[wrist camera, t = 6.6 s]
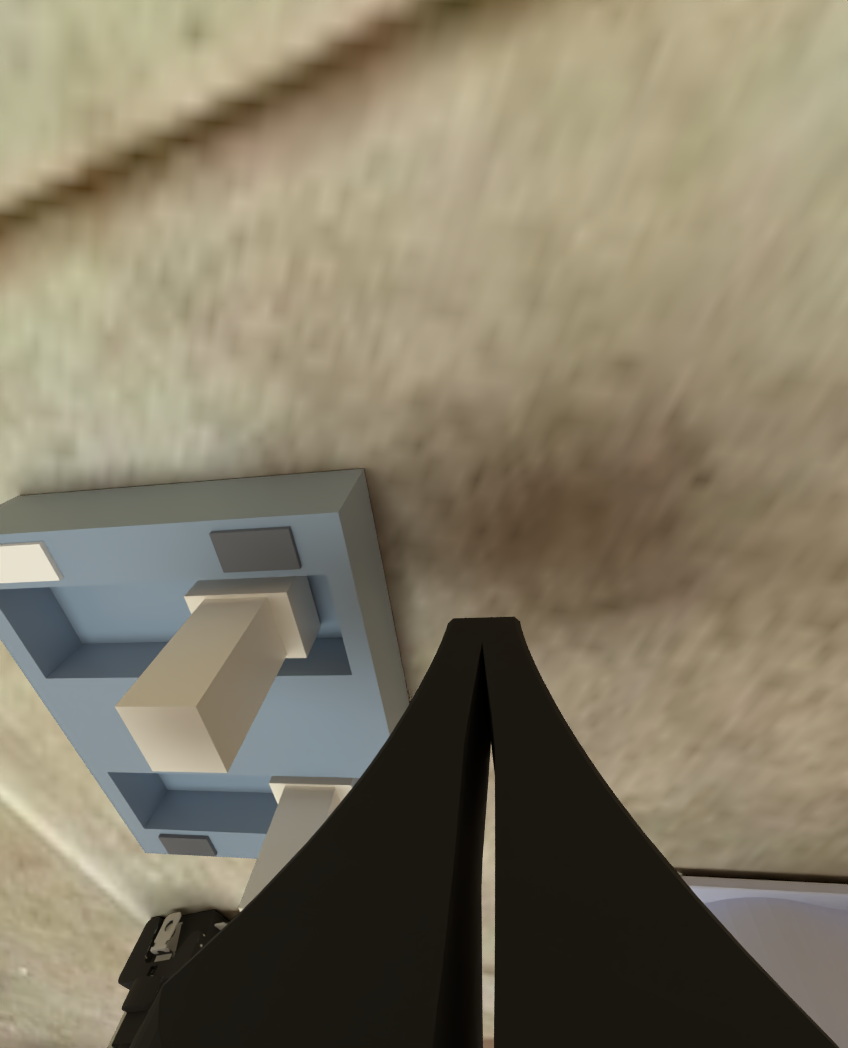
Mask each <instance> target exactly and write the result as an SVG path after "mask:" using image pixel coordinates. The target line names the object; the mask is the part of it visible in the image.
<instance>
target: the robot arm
mask: <svg viewBox="0 0 848 1048" xmlns="http://www.w3.org/2000/svg"><path fill="white" fill-rule="evenodd" d="M491 745H492V754H493V763H494V771H495V1001H494V1048H848V884H834V883H814V882H794V881H775V880H755V879H735V878H715V877H695V876H680V875H679V874H678V873H677V871H676V870H675V869H674V868H673V867H672V865H671V864H670V863H669V862H668V861H667V859H666V858H665V857H664V856H663V855H662V853H661V852H660V851H659V850H658V849H657V847H656V846H655V845H654V844H653V843H652V841H651V840H650V839H649V838H648V837H647V836H646V834H645V833H644V832H643V831H642V829H641V828H640V827H639V826H638V824H637V823H636V822H635V820H634V819H633V818H632V816H631V815H630V814H629V812H628V811H627V810H626V809H625V807H624V806H623V805H622V803H621V802H620V801H619V799H618V798H617V797H616V795H615V794H614V793H613V791H612V790H611V788H610V787H609V786H608V784H607V783H606V781H605V780H604V779H603V777H602V776H601V774H600V773H599V772H598V770H597V769H596V767H595V766H594V764H593V763H592V761H591V760H590V758H589V757H588V756H587V754H586V752H585V751H584V749H583V748H582V746H581V745H580V743H579V742H578V740H577V738H576V737H575V735H574V734H573V732H572V730H571V729H570V727H569V726H568V724H567V722H566V721H565V719H564V717H563V716H562V714H561V712H560V710H559V709H558V707H557V705H556V703H555V702H554V700H553V698H552V696H551V694H550V692H549V690H548V689H547V687H546V685H545V683H544V681H543V679H542V677H541V675H540V673H539V671H538V669H537V667H536V665H535V663H534V660H533V658H532V656H531V654H530V651H529V649H528V646H527V644H526V641H525V638H524V635H523V632H522V629H521V624H520V621H519V620H518V619H516V618H515V617H490V618H454V619H452V620H451V621H450V622H449V623H448V626H447V629H446V632H445V634H444V637H443V639H442V642H441V644H440V646H439V648H438V651H437V653H436V655H435V657H434V659H433V661H432V663H431V665H430V667H429V669H428V671H427V673H426V675H425V677H424V679H423V680H422V682H421V684H420V686H419V688H418V690H417V692H416V693H415V695H414V697H413V699H412V701H411V702H410V704H409V706H408V707H407V709H406V710H405V712H404V714H403V715H402V717H401V718H400V720H399V722H398V723H397V725H396V726H395V728H394V730H393V731H392V733H391V734H390V736H389V738H388V739H387V741H386V742H385V744H384V745H383V746H382V748H381V749H380V751H379V752H378V754H377V755H376V757H375V758H374V759H373V761H372V762H371V764H370V765H369V766H368V768H367V769H366V770H365V772H364V773H363V774H362V776H361V777H360V778H359V780H358V781H357V782H356V784H355V785H354V786H353V788H352V789H351V790H350V791H349V793H348V794H347V795H346V796H345V797H344V799H343V800H342V801H341V802H340V804H339V805H338V806H337V807H336V809H335V810H334V811H333V812H332V813H331V815H330V816H329V817H328V818H327V820H326V821H325V822H324V823H323V824H322V825H321V827H320V828H319V829H318V830H317V831H316V832H315V834H314V835H313V836H312V837H311V838H310V839H309V840H308V842H307V843H306V844H305V845H304V846H303V847H302V848H301V849H300V850H299V851H298V852H297V853H296V854H295V855H294V857H293V858H292V859H291V860H290V861H289V862H288V863H287V864H286V865H285V866H284V867H283V868H282V869H281V870H280V871H279V872H278V874H277V875H276V876H275V877H274V878H273V879H272V880H271V881H270V882H269V883H268V884H267V885H266V886H265V887H264V888H263V889H262V891H261V892H260V893H259V894H258V895H257V896H256V897H255V898H254V899H253V900H252V901H251V902H250V903H249V904H248V905H247V906H246V907H245V908H244V909H243V910H242V911H241V912H240V913H239V914H237V915H236V916H235V917H234V918H233V919H232V920H231V921H230V922H229V923H228V924H227V925H226V926H225V927H224V928H223V929H222V930H220V931H219V932H218V933H217V934H216V935H215V936H214V937H213V938H212V939H211V940H210V941H209V942H208V943H207V944H206V945H205V946H203V947H202V948H201V949H200V950H199V951H198V952H197V953H196V954H195V955H194V956H193V957H192V958H191V959H190V960H189V961H188V962H186V963H185V964H184V965H183V966H182V967H181V968H180V969H179V970H178V971H177V972H176V973H175V974H174V975H172V976H171V977H170V978H169V979H168V980H167V981H166V982H165V983H164V984H163V985H162V987H161V989H160V991H159V993H158V995H157V997H156V999H155V1001H154V1003H153V1004H152V1006H151V1008H150V1010H149V1012H148V1014H147V1016H146V1017H145V1019H144V1021H143V1023H142V1024H141V1026H140V1028H139V1029H138V1031H137V1033H136V1035H135V1037H134V1039H133V1041H132V1043H131V1045H130V1047H129V1048H483V1024H482V907H481V884H482V858H483V844H484V830H485V817H486V803H487V790H488V776H489V762H490V748H491Z"/></svg>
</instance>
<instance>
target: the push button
mask: <svg viewBox="0 0 848 1048" xmlns="http://www.w3.org/2000/svg"><path fill="white" fill-rule="evenodd" d="M228 923H229V921H228V920H227V919H225V918H224V917H223V916H221V915H220V914H219V913H217V912H216V911H215V910H210V911H205V912H200V913H195V914H190V915H185V916H181V912H177V913H172V914H169V915H168V916H167V917H166V918H165V920H163V919H162V918H160V917H154V918H152V919H150V920H149V921H148V922H147V924H146V926H145V928H144V930H143V931H142V933H141V935H140V937H139V939H138V941H137V943H136V945H135V947H134V949H133V951H132V953H131V955H130V957H129V959H128V961H127V963H126V965H125V967H124V969H123V971H122V973H121V975H120V977H119V980H118V982H119V984H121V985H122V986H124V987H126V988H127V989H129V990H130V991H129V993H128V995H127V997H126V999H125V1001H124V1003H123V1006H122V1010H123V1012H124V1014H123V1016H122V1018H121V1020H120V1023H119V1025H118V1027H117V1029H116V1031H115V1033H114V1035H113V1037H112V1039H111V1041H110V1043H109V1045H108V1048H129V1047H130V1045H131V1043H132V1041H133V1039H134V1037H135V1035H136V1033H137V1031H138V1029H139V1028H140V1026H141V1024H142V1023H143V1021H144V1019H145V1017H146V1016H147V1014H148V1012H149V1010H150V1008H151V1006H152V1004H153V1003H154V1001H155V999H156V997H157V995H158V993H159V991H160V989H161V987H162V985H163V984H164V983H165V982H166V981H167V980H168V979H169V978H170V977H171V976H172V975H174V974H175V973H176V972H177V971H178V970H179V969H180V968H181V967H182V966H183V965H184V964H185V963H186V962H188V961H189V960H190V959H191V958H192V957H193V956H194V955H195V954H196V953H197V952H198V951H199V950H200V949H201V948H202V947H203V946H205V945H206V944H207V943H208V942H209V941H210V940H211V939H212V938H213V937H214V936H215V935H216V934H217V933H218V932H219V931H220V930H222V929H223V928H224V927H225V926H226V925H227V924H228Z"/></svg>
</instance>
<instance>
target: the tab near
mask: <svg viewBox="0 0 848 1048" xmlns="http://www.w3.org/2000/svg"><path fill="white" fill-rule="evenodd" d="M184 598H185V601H186V603H187V605H188V608H189V610H190V612H191V616H190V617H189V618H188V619H187V620H186V622H185V623H184V624H183V625H182V626H181V628H180V629H179V630H178V631H177V632H176V634H175V635H174V636H173V637H172V638H171V640H170V641H169V642H168V643H167V644H166V646H165V647H164V648H163V649H162V650H161V652H160V653H159V654H158V655H157V657H156V658H155V659H154V660H153V661H152V663H151V664H150V665H149V666H148V667H147V669H146V670H145V671H144V672H143V673H142V675H141V676H140V677H139V678H138V679H137V681H136V682H135V683H134V684H133V685H132V687H131V688H130V689H129V690H128V691H127V693H126V694H125V695H124V696H123V697H122V699H121V700H120V701H119V702H118V703H117V705H116V706H115V708H116V710H117V711H118V713H119V715H120V717H121V718H122V720H123V722H124V723H125V725H126V727H127V728H128V730H129V732H130V734H131V735H132V737H133V739H134V740H135V742H136V744H137V745H138V747H139V749H140V751H141V752H142V754H143V756H144V757H145V759H146V761H147V762H148V764H149V766H150V768H151V769H152V771H162V772H207V773H228V771H229V769H230V767H231V765H232V763H233V761H234V759H235V757H236V755H237V753H238V751H239V749H240V747H241V745H242V743H243V741H244V739H245V737H246V735H247V733H248V731H249V729H250V727H251V725H252V723H253V721H254V719H255V718H256V716H257V714H258V712H259V710H260V708H261V706H262V704H263V702H264V700H265V698H266V696H267V694H268V692H269V690H270V688H271V686H272V684H273V682H274V680H275V678H276V676H277V674H278V672H279V670H280V668H281V666H282V664H283V662H284V660H285V658H307V656H308V654H309V652H310V650H311V648H312V645H313V643H314V641H315V639H316V636H317V634H318V632H319V630H320V628H321V624H320V621H319V617H318V614H317V610H316V607H315V603H314V600H313V596H312V593H311V589H310V585H309V582H308V578H307V576H286V577H264V578H242V579H219V580H198V581H197V582H196V583H195V584H194V586H193V587H192V588H191V589H190V590H189V591H188V592H187V593H186V594H185V596H184Z"/></svg>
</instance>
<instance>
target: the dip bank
mask: <svg viewBox="0 0 848 1048" xmlns="http://www.w3.org/2000/svg"><path fill="white" fill-rule="evenodd" d="M286 576H307V578H308V582H309V585H310V589H311V593H312V596H313V600H314V603H315V607H316V610H317V614H318V617H319V621H320V624H321V628H320V630H319V632H318V634H317V636H316V639H315V641H314V643H313V645H312V648H311V650H310V652H309V654H308V656H307V658H285V660H284V662H283V664H282V666H281V668H280V670H279V672H278V674H277V676H276V678H275V680H274V682H273V684H272V686H271V688H270V690H269V692H268V694H267V696H266V698H265V700H264V702H263V704H262V706H261V708H260V710H259V712H258V714H257V716H256V718H255V719H254V721H253V723H252V725H251V727H250V729H249V731H248V733H247V735H246V737H245V739H244V741H243V743H242V745H241V747H240V749H239V751H238V753H237V755H236V757H235V759H234V761H233V763H232V765H231V767H230V769H229V771H228V773H207V772H162V771H152V769H151V768H150V766H149V764H148V762H147V761H146V759H145V757H144V756H143V754H142V752H141V751H140V749H139V747H138V745H137V744H136V742H135V740H134V739H133V737H132V735H131V734H130V732H129V730H128V728H127V727H126V725H125V723H124V722H123V720H122V718H121V717H120V715H119V713H118V711H117V710H116V708H115V706H116V705H117V703H118V702H119V701H120V700H121V699H122V697H123V696H124V695H125V694H126V693H127V691H128V690H129V689H130V688H131V687H132V685H133V684H134V683H135V682H136V681H137V679H138V678H139V677H140V676H141V675H142V673H143V672H144V671H145V670H146V669H147V667H148V666H149V665H150V664H151V663H152V661H153V660H154V659H155V658H156V657H157V655H158V654H159V653H160V652H161V650H162V649H163V648H164V647H165V646H166V644H167V643H168V642H169V641H170V640H171V638H172V637H173V636H174V635H175V634H176V632H177V631H178V630H179V629H180V628H181V626H182V625H183V624H184V623H185V622H186V620H187V619H188V618H189V617H190V616H191V612H190V610H189V608H188V605H187V603H186V601H185V598H184V596H185V594H186V593H187V592H188V591H189V590H190V589H191V588H192V587H193V586H194V584H195V583H196V582H197V581H198V580H219V579H242V578H264V577H286ZM0 639H1V641H2V642H3V644H4V645H5V647H6V648H7V650H8V651H9V653H10V654H11V656H12V657H13V659H14V660H15V662H16V663H17V664H18V666H19V667H20V669H21V670H22V672H23V673H24V675H25V676H26V678H27V679H28V681H29V682H30V684H31V685H32V687H33V688H34V690H35V691H36V692H37V694H38V695H39V697H40V698H41V700H42V701H43V703H44V704H45V706H46V707H47V709H48V710H49V712H50V713H51V715H52V716H53V717H54V719H55V720H56V722H57V723H58V725H59V726H60V728H61V729H62V731H63V732H64V734H65V735H66V737H67V738H68V740H69V741H70V743H71V744H72V745H73V747H74V748H75V750H76V751H77V753H78V754H79V756H80V757H81V759H82V760H83V762H84V763H85V765H86V766H87V768H88V769H89V771H90V772H91V773H92V775H93V776H94V778H95V779H96V781H97V782H98V784H99V785H100V787H101V788H102V790H103V791H104V793H105V794H106V796H107V797H108V799H109V800H110V801H111V803H112V804H113V806H114V807H115V809H116V810H117V812H118V813H119V815H120V816H121V818H122V819H123V821H124V822H125V824H126V825H127V826H128V828H129V829H130V831H131V832H132V834H133V835H134V837H135V838H136V840H137V841H138V843H139V844H140V846H141V847H142V849H143V850H144V852H145V853H157V854H177V855H196V856H215V857H235V858H254V859H257V858H258V855H259V853H260V850H261V847H262V845H263V842H264V840H265V837H266V834H267V832H268V829H269V827H270V824H271V821H272V819H273V816H274V813H275V811H276V808H277V806H278V804H277V801H276V799H275V797H274V794H273V792H272V790H271V787H270V785H269V781H270V779H271V777H272V776H298V777H341V778H360V777H361V776H362V774H363V773H364V772H365V770H366V769H367V768H368V766H369V765H370V764H371V762H372V761H373V759H374V758H375V757H376V755H377V754H378V752H379V751H380V749H381V748H382V746H383V745H384V744H385V742H386V741H387V739H388V738H389V736H390V734H391V733H392V731H393V730H394V728H395V726H396V725H397V723H398V722H399V720H400V718H401V717H402V715H403V714H404V712H405V710H406V709H407V707H408V706H409V704H410V703H409V698H408V693H407V688H406V682H405V677H404V672H403V667H402V662H401V657H400V652H399V646H398V641H397V636H396V631H395V626H394V621H393V616H392V611H391V605H390V600H389V595H388V590H387V585H386V580H385V575H384V570H383V564H382V559H381V554H380V549H379V544H378V539H377V534H376V529H375V523H374V518H373V513H372V508H371V503H370V498H369V493H368V487H367V482H366V477H365V472H364V469H352V470H340V471H327V472H314V473H302V474H289V475H277V476H264V477H251V478H239V479H226V480H214V481H201V482H188V483H176V484H163V485H151V486H138V487H125V488H113V489H100V490H88V491H75V492H62V493H50V494H37V495H25V496H17V497H15V498H13V499H11V500H9V501H7V502H5V503H3V504H1V505H0Z"/></svg>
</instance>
